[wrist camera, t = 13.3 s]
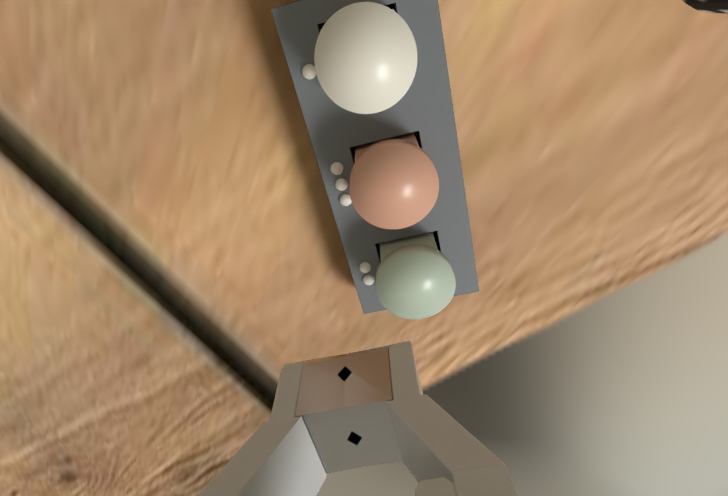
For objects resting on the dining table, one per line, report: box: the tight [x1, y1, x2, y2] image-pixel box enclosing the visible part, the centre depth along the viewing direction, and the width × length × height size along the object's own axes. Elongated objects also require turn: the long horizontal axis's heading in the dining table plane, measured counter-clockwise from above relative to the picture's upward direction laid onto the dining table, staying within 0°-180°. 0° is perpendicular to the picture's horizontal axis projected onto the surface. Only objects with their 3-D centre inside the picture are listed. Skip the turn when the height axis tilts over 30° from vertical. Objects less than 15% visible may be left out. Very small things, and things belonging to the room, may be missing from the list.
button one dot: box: [314, 2, 417, 114], centre depth 24 cm, size 5×5×5 cm
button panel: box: [271, 0, 479, 314], centre depth 29 cm, size 21×9×3 cm, turn 14°
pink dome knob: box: [349, 132, 439, 229], centre depth 27 cm, size 5×5×5 cm
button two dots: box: [376, 232, 456, 319], centre depth 30 cm, size 5×5×5 cm
